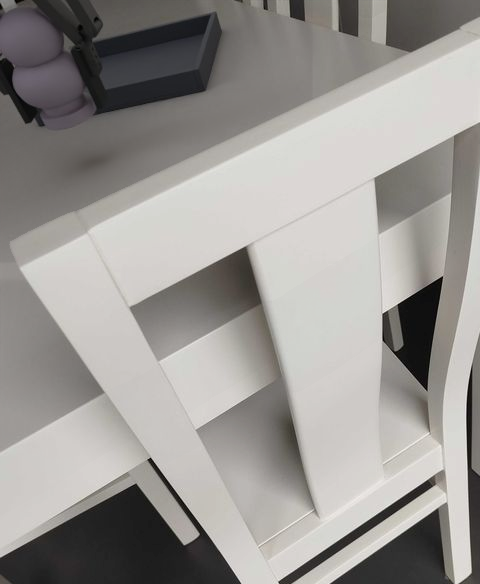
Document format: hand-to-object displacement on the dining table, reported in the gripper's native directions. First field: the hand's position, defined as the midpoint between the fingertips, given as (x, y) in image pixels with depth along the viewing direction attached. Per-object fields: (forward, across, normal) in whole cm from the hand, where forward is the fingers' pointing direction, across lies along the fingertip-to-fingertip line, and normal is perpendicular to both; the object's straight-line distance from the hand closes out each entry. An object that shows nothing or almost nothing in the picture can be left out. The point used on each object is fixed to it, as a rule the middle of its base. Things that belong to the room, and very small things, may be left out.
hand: (67, 110), depth 70 cm
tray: (+7, 0, -25) cm, 26 cm away
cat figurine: (+1, 0, 0) cm, 1 cm away
